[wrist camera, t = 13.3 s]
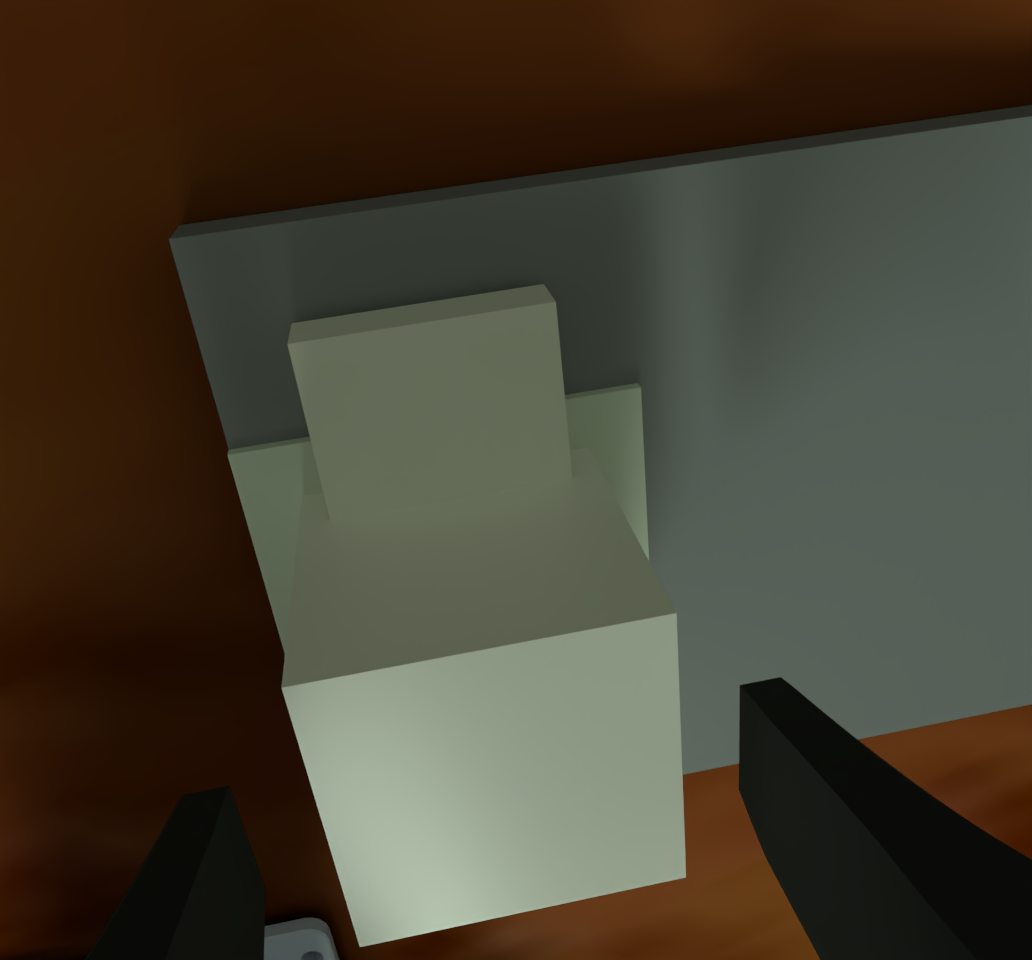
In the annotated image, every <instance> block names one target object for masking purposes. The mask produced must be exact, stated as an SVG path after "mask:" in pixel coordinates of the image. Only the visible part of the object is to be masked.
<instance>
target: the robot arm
mask: <svg viewBox="0 0 1032 960" xmlns="http://www.w3.org/2000/svg"><path fill="white" fill-rule="evenodd" d="M739 791H740V793H741V796H742V798H743V801H744V804H745V806H746V809H747V811H748V814H749V817H750V819H751V822H752V825H753V827H754V830H755V832H756V834H757V837H758V839H759V842H760V844H761V847H762V849H763V852H764V854H765V856H766V858H767V860H768V862H769V864H770V866H771V868H772V870H773V872H774V874H775V876H776V878H777V879H778V881H779V883H780V885H781V887H782V889H783V891H784V893H785V894H786V896H787V898H788V900H789V902H790V904H791V906H792V908H793V910H794V911H795V913H796V915H797V917H798V919H799V921H800V922H801V924H802V926H803V928H804V930H805V932H806V934H807V935H808V937H809V939H810V941H811V943H812V945H813V947H814V948H815V950H816V952H817V954H818V956H819V958H820V960H1032V860H1031V859H1030V858H1028V857H1026V856H1025V855H1023V854H1021V853H1019V852H1018V851H1016V850H1014V849H1013V848H1011V847H1009V846H1008V845H1006V844H1004V843H1003V842H1001V841H999V840H998V839H996V838H994V837H993V836H991V835H990V834H988V833H986V832H985V831H983V830H982V829H980V828H979V827H977V826H976V825H974V824H973V823H971V822H969V821H968V820H966V819H965V818H964V817H962V816H961V815H959V814H958V813H956V812H955V811H953V810H952V809H950V808H949V807H947V806H946V805H945V804H943V803H942V802H940V801H939V800H937V799H936V798H934V797H933V796H932V795H930V794H929V793H927V792H926V791H925V790H923V789H922V788H921V787H919V786H918V785H916V784H915V783H914V782H912V781H911V780H910V779H908V778H907V777H906V776H904V775H903V774H902V773H900V772H899V771H898V770H896V769H895V768H894V767H892V766H891V765H890V764H888V763H887V762H886V761H884V760H883V759H882V758H881V757H879V756H878V755H877V754H875V753H874V752H873V751H871V750H870V749H869V748H868V747H866V746H865V745H864V744H862V743H861V742H860V741H859V740H857V739H856V738H855V737H854V736H852V735H851V734H850V733H849V732H848V731H846V730H845V729H844V728H843V727H841V726H840V725H839V724H838V723H836V722H835V721H834V720H833V719H832V718H830V717H829V716H828V715H827V714H825V713H824V712H823V711H822V710H821V709H819V708H818V707H817V706H816V705H815V704H813V703H812V702H811V701H810V700H809V699H807V698H806V697H805V696H804V695H803V694H801V693H800V692H799V691H798V690H797V689H795V688H794V687H793V686H792V685H790V684H789V683H788V682H787V681H785V680H784V679H783V678H781V677H778V678H773V679H768V680H763V681H758V682H753V683H748V684H743V685H740V711H739ZM85 960H339V957H338V954H337V951H336V948H335V944H334V941H333V938H332V935H331V932H330V929H329V927H328V925H327V924H326V923H325V922H324V921H322V920H320V919H318V918H313V917H310V918H302V919H297V920H292V921H287V922H282V923H278V924H273V925H268V926H265V886H264V883H263V880H262V877H261V875H260V872H259V869H258V866H257V863H256V860H255V858H254V855H253V852H252V849H251V846H250V843H249V841H248V838H247V835H246V832H245V829H244V826H243V824H242V821H241V818H240V815H239V812H238V809H237V806H236V804H235V801H234V798H233V795H232V792H231V789H230V787H229V786H226V787H221V788H215V789H210V790H205V791H200V792H195V793H190V794H185V795H183V796H182V798H181V799H180V800H179V802H178V803H177V805H176V806H175V808H174V810H173V812H172V814H171V815H170V817H169V819H168V821H167V823H166V824H165V826H164V828H163V830H162V832H161V833H160V835H159V837H158V839H157V841H156V842H155V844H154V846H153V848H152V849H151V851H150V853H149V855H148V856H147V858H146V860H145V862H144V863H143V865H142V867H141V869H140V870H139V872H138V874H137V875H136V877H135V879H134V881H133V882H132V884H131V886H130V887H129V889H128V891H127V892H126V894H125V896H124V897H123V899H122V901H121V902H120V904H119V905H118V907H117V909H116V910H115V912H114V914H113V915H112V917H111V918H110V920H109V922H108V923H107V925H106V927H105V928H104V930H103V931H102V933H101V935H100V936H99V938H98V940H97V941H96V943H95V944H94V946H93V947H92V949H91V951H90V952H89V954H88V955H87V957H86V958H85Z"/></svg>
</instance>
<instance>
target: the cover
mask: <svg viewBox="0 0 1032 960" xmlns="http://www.w3.org/2000/svg"><path fill="white" fill-rule="evenodd" d="M287 345H288V349H289V353H290V357H291V361H292V365H293V369H294V374H295V378H296V382H297V386H298V390H299V394H300V398H301V402H302V407H303V411H304V415H305V419H306V423H307V427H308V431H309V435H310V440H311V444H312V448H313V452H314V456H315V460H316V464H317V468H318V473H319V477H320V481H321V485H322V489H323V493H318V494H312V495H306V496H302V501H301V511H300V520H299V529H298V538H297V548H296V557H295V566H294V576H293V585H292V594H291V604H290V613H289V622H288V631H287V641H286V650H285V659H284V669H283V678H282V687H281V688H282V691H283V695H284V698H285V701H286V705H287V708H288V711H289V715H290V718H291V721H292V725H293V728H294V731H295V734H296V738H297V741H298V744H299V748H300V751H301V754H302V758H303V761H304V764H305V768H306V771H307V774H308V778H309V781H310V784H311V787H312V791H313V794H314V797H315V801H316V804H317V807H318V811H319V814H320V817H321V821H322V824H323V827H324V830H325V834H326V837H327V840H328V844H329V847H330V850H331V854H332V857H333V860H334V864H335V867H336V870H337V874H338V877H339V880H340V883H341V887H342V890H343V893H344V897H345V900H346V903H347V907H348V910H349V913H350V917H351V920H352V923H353V926H354V930H355V933H356V936H357V940H358V943H359V946H360V947H363V946H368V945H373V944H377V943H382V942H387V941H391V940H396V939H401V938H405V937H410V936H415V935H419V934H424V933H429V932H433V931H438V930H443V929H447V928H452V927H457V926H461V925H466V924H471V923H475V922H480V921H485V920H489V919H494V918H499V917H503V916H508V915H513V914H517V913H522V912H527V911H531V910H536V909H540V908H545V907H550V906H554V905H559V904H564V903H568V902H573V901H578V900H582V899H587V898H592V897H596V896H601V895H606V894H610V893H615V892H620V891H624V890H629V889H634V888H638V887H643V886H648V885H652V884H657V883H662V882H666V881H671V880H676V879H680V878H685V877H686V862H685V834H684V806H683V778H682V750H681V721H680V693H679V665H678V637H677V613H676V611H675V609H674V607H673V605H672V603H671V602H670V600H669V598H668V596H667V594H666V592H665V590H664V588H663V586H662V585H661V583H660V581H659V579H658V577H657V575H656V573H655V571H654V570H653V568H652V566H651V564H650V562H649V560H648V558H647V556H646V554H645V553H644V551H643V549H642V547H641V545H640V543H639V541H638V539H637V538H636V536H635V534H634V532H633V530H632V528H631V526H630V524H629V522H628V521H627V519H626V517H625V515H624V513H623V511H622V509H621V507H620V506H619V504H618V502H617V500H616V498H615V496H614V494H613V492H612V490H611V489H610V487H609V485H608V483H607V481H606V479H605V477H604V475H603V474H602V472H601V470H600V468H599V466H598V464H597V462H596V460H595V458H594V457H593V455H592V453H591V451H590V449H589V447H586V448H580V449H574V450H570V447H569V436H568V425H567V415H566V404H565V393H564V383H563V372H562V361H561V351H560V340H559V329H558V319H557V308H556V301H555V300H554V298H553V297H552V295H551V294H550V292H549V291H548V289H547V288H546V287H545V285H544V284H540V285H534V286H528V287H521V288H515V289H508V290H502V291H496V292H489V293H483V294H476V295H470V296H463V297H457V298H451V299H444V300H438V301H431V302H425V303H418V304H412V305H406V306H399V307H393V308H386V309H380V310H374V311H367V312H361V313H354V314H348V315H341V316H335V317H329V318H322V319H316V320H309V321H303V322H296V323H291V328H290V333H289V338H288V343H287Z"/></svg>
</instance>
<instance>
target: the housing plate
mask: <svg viewBox="0 0 1032 960" xmlns="http://www.w3.org/2000/svg"><path fill="white" fill-rule="evenodd" d="M169 242H170V246H171V249H172V253H173V256H174V260H175V263H176V267H177V270H178V274H179V277H180V281H181V284H182V288H183V291H184V295H185V298H186V302H187V305H188V309H189V312H190V316H191V319H192V323H193V326H194V330H195V333H196V337H197V340H198V344H199V347H200V351H201V354H202V358H203V361H204V365H205V368H206V372H207V375H208V379H209V382H210V386H211V389H212V393H213V396H214V400H215V403H216V407H217V410H218V414H219V417H220V421H221V424H222V427H223V431H224V434H225V438H226V441H227V445H228V448H229V451H228V459H229V462H230V466H231V469H232V473H233V476H234V480H235V483H236V486H237V490H238V493H239V497H240V500H241V504H242V507H243V511H244V514H245V518H246V521H247V525H248V528H249V532H250V535H251V539H252V542H253V545H254V549H255V552H256V556H257V559H258V563H259V566H260V570H261V573H262V577H263V580H264V584H265V587H266V591H267V594H268V598H269V601H270V604H271V608H272V611H273V615H274V618H275V622H276V625H277V629H278V632H279V636H280V639H281V643H282V646H283V650H284V653H285V650H286V641H287V631H288V622H289V613H290V604H291V594H292V585H293V576H294V566H295V557H296V548H297V538H298V529H299V520H300V511H301V501H302V496H306V495H312V494H318V493H323V489H322V485H321V481H320V477H319V473H318V468H317V464H316V460H315V456H314V452H313V448H312V444H311V440H310V435H309V431H308V427H307V423H306V419H305V415H304V411H303V407H302V402H301V398H300V394H299V390H298V386H297V382H296V378H295V374H294V369H293V365H292V361H291V357H290V353H289V349H288V345H287V343H288V338H289V333H290V328H291V323H296V322H303V321H309V320H316V319H322V318H329V317H335V316H341V315H348V314H354V313H361V312H367V311H374V310H380V309H386V308H393V307H399V306H406V305H412V304H418V303H425V302H431V301H438V300H444V299H451V298H457V297H463V296H470V295H476V294H483V293H489V292H496V291H502V290H508V289H515V288H521V287H528V286H534V285H540V284H544V285H545V287H546V288H547V289H548V291H549V292H550V294H551V295H552V297H553V298H554V300H555V301H556V308H557V319H558V329H559V340H560V351H561V361H562V372H563V383H564V393H565V404H566V415H567V425H568V436H569V447H570V450H574V449H580V448H586V447H589V449H590V451H591V453H592V455H593V457H594V458H595V460H596V462H597V464H598V466H599V468H600V470H601V472H602V474H603V475H604V477H605V479H606V481H607V483H608V485H609V487H610V489H611V490H612V492H613V494H614V496H615V498H616V500H617V502H618V504H619V506H620V507H621V509H622V511H623V513H624V515H625V517H626V519H627V521H628V522H629V524H630V526H631V528H632V530H633V532H634V534H635V536H636V538H637V539H638V541H639V543H640V545H641V547H642V549H643V551H644V553H645V554H646V556H647V558H648V560H649V562H650V564H651V566H652V568H653V570H654V571H655V573H656V575H657V577H658V579H659V581H660V583H661V585H662V586H663V588H664V590H665V592H666V594H667V596H668V598H669V600H670V602H671V603H672V605H673V607H674V609H675V611H676V613H677V637H678V665H679V693H680V721H681V750H682V775H684V774H689V773H693V772H698V771H703V770H708V769H713V768H718V767H723V766H728V765H733V764H738V763H739V711H740V685H743V684H748V683H753V682H758V681H763V680H768V679H773V678H778V677H781V678H783V679H784V680H785V681H787V682H788V683H789V684H790V685H792V686H793V687H794V688H795V689H797V690H798V691H799V692H800V693H801V694H803V695H804V696H805V697H806V698H807V699H809V700H810V701H811V702H812V703H813V704H815V705H816V706H817V707H818V708H819V709H821V710H822V711H823V712H824V713H825V714H827V715H828V716H829V717H830V718H832V719H833V720H834V721H835V722H836V723H838V724H839V725H840V726H841V727H843V728H844V729H845V730H846V731H848V732H849V733H850V734H851V735H852V736H854V737H855V738H856V739H862V738H867V737H872V736H877V735H882V734H887V733H892V732H896V731H901V730H906V729H911V728H916V727H921V726H926V725H931V724H936V723H941V722H946V721H951V720H956V719H961V718H966V717H971V716H976V715H981V714H986V713H991V712H996V711H1000V710H1005V709H1010V708H1015V707H1020V706H1025V705H1030V704H1032V105H1026V106H1019V107H1012V108H1005V109H998V110H991V111H984V112H977V113H970V114H963V115H956V116H949V117H941V118H934V119H927V120H920V121H913V122H906V123H899V124H892V125H885V126H878V127H871V128H864V129H857V130H849V131H842V132H835V133H828V134H821V135H814V136H807V137H800V138H793V139H786V140H779V141H772V142H765V143H757V144H750V145H743V146H736V147H729V148H722V149H715V150H708V151H701V152H694V153H687V154H680V155H673V156H665V157H658V158H651V159H644V160H637V161H630V162H623V163H616V164H609V165H602V166H595V167H588V168H581V169H573V170H566V171H559V172H552V173H545V174H538V175H531V176H524V177H517V178H510V179H503V180H496V181H489V182H481V183H474V184H467V185H460V186H453V187H446V188H439V189H432V190H425V191H418V192H411V193H404V194H397V195H389V196H382V197H375V198H368V199H361V200H354V201H347V202H340V203H333V204H326V205H319V206H312V207H305V208H297V209H290V210H283V211H276V212H269V213H262V214H255V215H248V216H241V217H234V218H227V219H220V220H213V221H205V222H198V223H191V224H184V225H180V226H179V227H178V228H177V229H176V231H175V232H174V233H173V234H172V236H171V237H170V238H169Z"/></svg>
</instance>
